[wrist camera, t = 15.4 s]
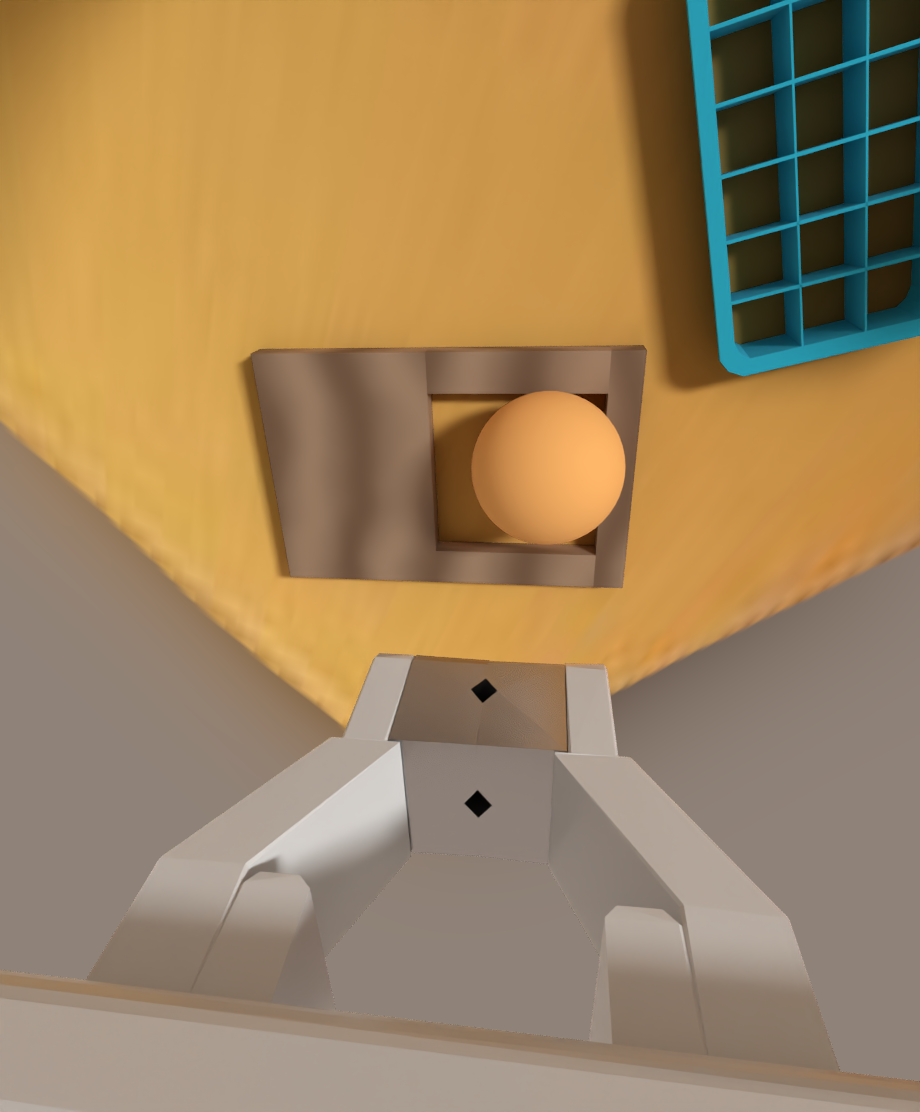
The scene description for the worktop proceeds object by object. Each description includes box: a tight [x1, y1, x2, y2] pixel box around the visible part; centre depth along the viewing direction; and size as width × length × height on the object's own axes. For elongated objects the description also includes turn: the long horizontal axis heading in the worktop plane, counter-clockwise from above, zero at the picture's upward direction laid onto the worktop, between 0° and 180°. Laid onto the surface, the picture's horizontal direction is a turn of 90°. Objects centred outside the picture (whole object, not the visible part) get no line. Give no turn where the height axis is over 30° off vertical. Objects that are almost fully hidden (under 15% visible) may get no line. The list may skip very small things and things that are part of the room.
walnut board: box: [251, 345, 647, 588], centre depth 43 cm, size 24×16×2 cm, turn 92°
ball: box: [471, 391, 625, 545], centre depth 38 cm, size 9×9×9 cm
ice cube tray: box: [686, 0, 920, 376], centre depth 32 cm, size 12×20×3 cm, turn 15°
